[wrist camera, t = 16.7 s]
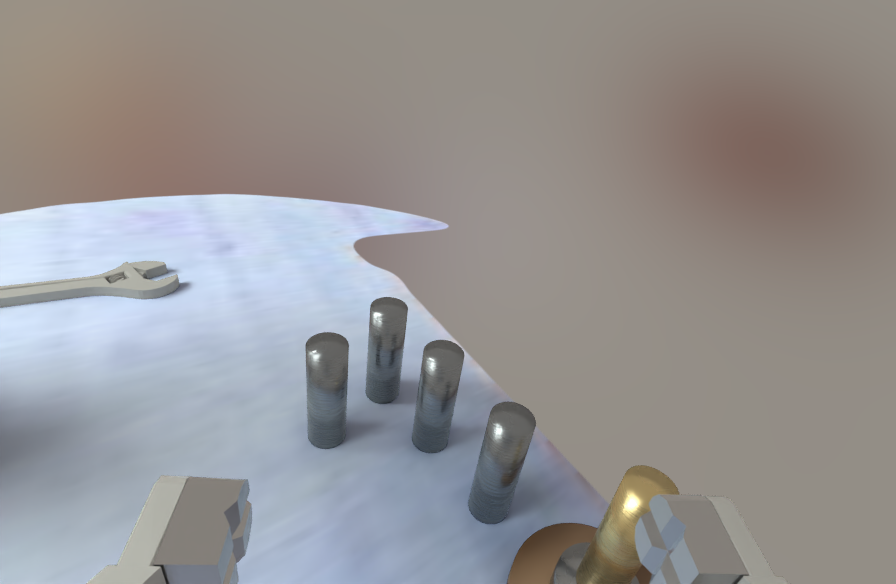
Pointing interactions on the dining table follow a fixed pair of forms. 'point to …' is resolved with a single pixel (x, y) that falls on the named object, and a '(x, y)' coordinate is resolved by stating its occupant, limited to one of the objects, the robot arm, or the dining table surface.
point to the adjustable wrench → (96, 285)
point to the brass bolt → (614, 534)
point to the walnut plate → (553, 553)
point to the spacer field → (433, 408)
